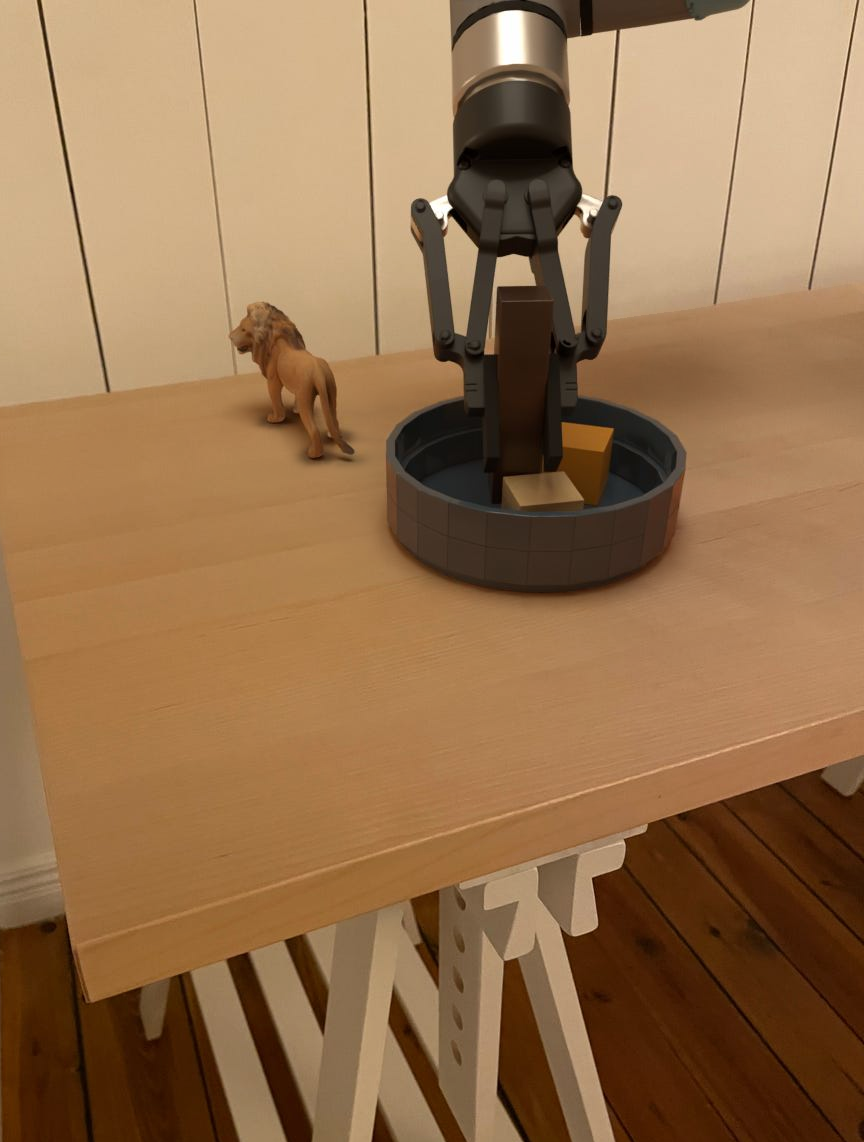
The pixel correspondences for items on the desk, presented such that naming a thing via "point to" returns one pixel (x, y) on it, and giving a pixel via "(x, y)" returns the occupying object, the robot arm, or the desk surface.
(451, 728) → the desk surface
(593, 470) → the block mustard
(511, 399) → the dark brown bar
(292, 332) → the lion figurine
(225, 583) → the desk surface
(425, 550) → the bowl
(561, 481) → the block maple
